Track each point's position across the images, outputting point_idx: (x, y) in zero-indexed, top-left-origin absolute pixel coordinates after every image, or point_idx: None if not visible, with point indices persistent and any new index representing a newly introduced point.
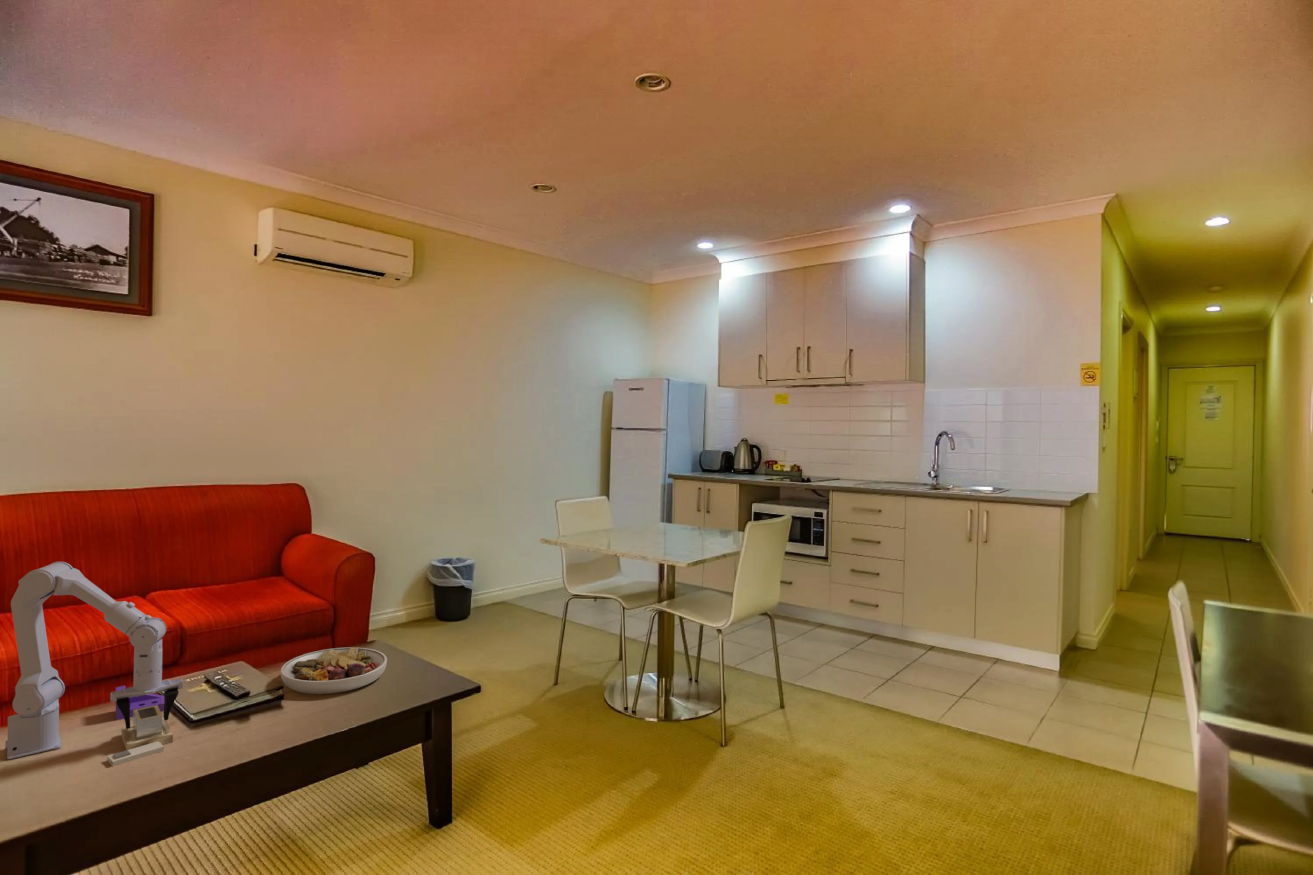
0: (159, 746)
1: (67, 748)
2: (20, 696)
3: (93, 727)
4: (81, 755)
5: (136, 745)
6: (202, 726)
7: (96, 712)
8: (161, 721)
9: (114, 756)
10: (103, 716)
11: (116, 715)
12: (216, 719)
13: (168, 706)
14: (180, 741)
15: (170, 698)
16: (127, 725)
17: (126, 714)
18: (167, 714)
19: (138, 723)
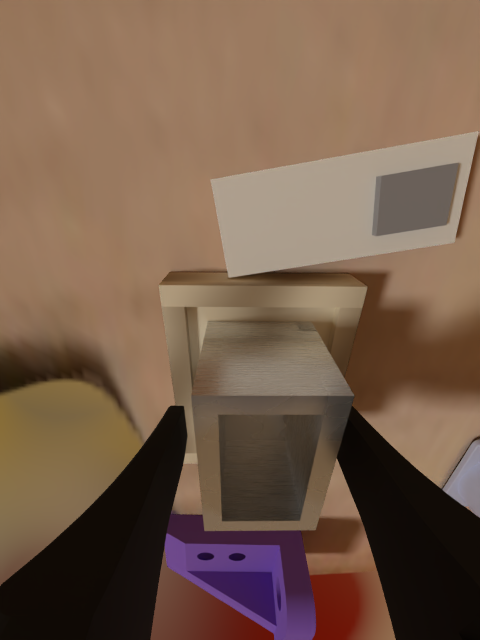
0: (231, 195)
1: (461, 427)
2: None
3: (354, 506)
4: (466, 354)
5: (321, 280)
6: (58, 358)
7: (321, 560)
8: (201, 364)
9: (450, 192)
10: (316, 541)
11: (300, 533)
12: (13, 390)
13: (140, 477)
14: (136, 253)
15: (86, 559)
16: (360, 416)
17: (415, 483)
18: (163, 427)
19: (336, 379)
